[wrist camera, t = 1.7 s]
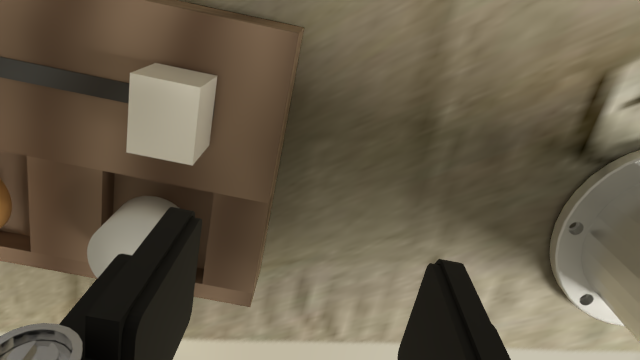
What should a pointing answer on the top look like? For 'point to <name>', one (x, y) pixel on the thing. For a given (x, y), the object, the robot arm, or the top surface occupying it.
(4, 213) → the orange button
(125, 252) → the grey button
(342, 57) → the top surface
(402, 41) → the top surface
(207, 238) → the control panel
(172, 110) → the slider knob
